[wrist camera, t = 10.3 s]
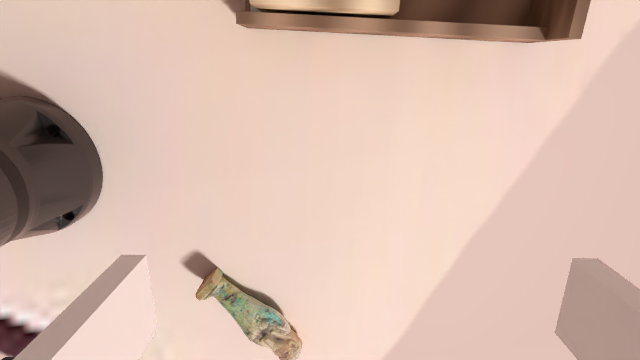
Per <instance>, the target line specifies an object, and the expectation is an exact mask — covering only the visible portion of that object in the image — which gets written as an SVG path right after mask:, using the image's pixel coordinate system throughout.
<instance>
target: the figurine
mask: <svg viewBox="0 0 640 360" xmlns="http://www.w3.org/2000/svg"><path fill="white" fill-rule="evenodd" d="M222 275H223V272H222V271H221V270H220V269H219V268H216V269H215V270H213V271H212V272H211V273H210V274H209V275H208V276H207V277H206V278H205V279H204V280H203V282H202V284H201V285H200V287H199V289H198V291H197V293H196V298H197V299H198V300H203V299H207V298H209V297H211V296H214V297H215V298H216V299H217V300H218V301H219V302H220V303H221V304H222V306H223V307H224V308H225V309H226V310H227V311H228V312H229V313H230V314H231V315H232V317H233V318H234V319H235V320H236V322H237V323H238V324H239V326H240V327H241V329H242V330H243V332H244V334H245V335H246V336H247V337H248V338H249V340H250V341H253V342H254V343H256V344H258V345H260V346H263V347H267V348H270V349H272V350H273V352H274V354H275V355H276V356H278V357H279V359H280V360H296V359H297V358H298V356H299V354H300V352H301V348H302V341H301V339H300V338H299V337H298V335H297V334H296V333H295V332H294V331H293V330H292V329H291V328H290V325H289V324H288V322H287V320H286V319H285V318H284V317H283V316H282V315H281V314H280V313H279V312H278V311H277V310H276V309H274V308H272V307H270V306H267V305H265V304H263V303H262V302H260V301H258V300H257V299H255V298H253V297H251V296H249V295H247V294H246V293H244V292H243V291H241V290H240V289H238V288H237V287H236V286H235V285H233V284H231V283H230V282H229V281H228V280H226V279H225V278H224V277H223V276H222Z"/></svg>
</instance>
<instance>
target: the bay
mask: <svg viewBox="0 0 640 360" xmlns="http://www.w3.org/2000/svg"><path fill="white" fill-rule="evenodd" d="M590 1H591V0H400V6H399V11H398V12H397V13H395V14H394V16H391V17H389V18H388V19H382V18H363V17H344V16H325V15H306V14H288V13H269V12H261V11H260V10H258V9H256V8H255V7H254V6H253V5H251V4H250V3H249V0H246V12H245V11H236V24H239V25H241V26H244V27H246V28H258V29H277V30H296V31H315V32H333V33H352V34H371V35H390V36H409V37H428V38H446V39H465V40H484V41H503V42H522V43H533V42H546V41H558V40H570V39H581V37H582V33H583V29H584V25H585V21H586V17H587V13H588V9H589V5H590Z"/></svg>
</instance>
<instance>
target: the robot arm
mask: <svg viewBox="0 0 640 360" xmlns="http://www.w3.org/2000/svg"><path fill="white" fill-rule="evenodd" d="M102 180H103V173H102V166H101V161H100V158H99V155H98V152H97V150H96V148H95V146H94V144H93V142H92V140H91V139H90V137H89V136H88V134H87V133H86V132H85V130H84V129H83V128H82V127H81V126H80V125H79V124H78V123H77V122H76V121H75V120H74V119H73V118H72V117H71V116H69V115H68V114H67V113H65V112H64V111H62V110H61V109H59V108H57V107H56V106H54V105H52V104H49V103H47V102H44V101H41V100H38V99H34V98H29V97H6V98H0V247H1V246H3V245H4V244H6V243H8V242H10V241H13V240H18V239H23V238H28V237H33V236H38V235H43V234H48V233H53V232H56V231H59V230H62V229H64V228H66V227H68V226H70V225H71V224H73V223H75V222H76V221H78V220H79V219H81V218H82V217H84V216H85V215H86V214H87V213H88V212H89V211H90V210H91V209H92V208H93V207H94V205H95V204H96V202H97V200H98V198H99V195H100V192H101V188H102ZM157 329H158V325H157V319H156V313H155V307H154V301H153V294H152V288H151V282H150V276H149V270H148V264H147V257H146V255H121V256H120V257H119V258H118V259H117V260H116V261H115V262H114V263H113V264H112V265H111V266H110V267H109V268H108V269H106V270H105V271H104V272H103V273H102V274H101V275H100V276H99V277H98V278H97V279H96V280H95V281H94V282H93V283H92V284H91V285H90V286H89V287H88V288H87V289H86V290H85V291H84V292H83V293H82V294H81V295H80V296H79V297H77V298H76V299H75V300H74V301H73V302H72V303H71V304H70V305H69V306H68V307H67V308H66V309H65V310H64V311H63V312H62V313H61V314H60V315H59V316H58V317H57V318H56V319H55V320H54V321H53V322H52V323H51V324H50V325H48V326H47V327H46V328H45V329H44V330H43V331H42V332H41V333H40V334H39V335H38V336H37V337H36V338H35V339H34V340H33V341H32V342H31V343H30V344H29V345H28V346H27V347H26V348H25V349H24V350H23V351H22V352H21V353H19V354H18V355H17V356H16V357H5V358H3V359H2V360H139V359H140V357H141V355H142V354H143V352H144V350H145V349H146V347H147V346H148V344H149V342H150V341H151V339H152V338H153V336H154V334H155V333H156V331H157ZM555 333H556V335H557V336H558V337H559V338H560V339H561V340H562V342H563V343H564V344H565V345H566V346H567V347H568V349H569V350H570V351H571V352H572V353H573V355H574V356H575V357H576V358H577V359H578V360H640V289H639V288H637V287H636V286H634V285H633V284H632V283H630V282H629V281H628V280H626V279H625V278H624V277H622V276H621V275H620V274H618V273H617V272H616V271H614V270H613V269H611V268H610V267H609V266H607V265H606V264H604V263H603V262H602V261H601V260H599V259H584V258H582V259H581V258H573V260H572V263H571V268H570V272H569V276H568V280H567V284H566V289H565V292H564V297H563V301H562V305H561V309H560V314H559V318H558V321H557V326H556V330H555Z"/></svg>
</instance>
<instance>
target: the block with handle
mask: <svg viewBox="0 0 640 360" xmlns="http://www.w3.org/2000/svg"><path fill="white" fill-rule="evenodd" d="M249 3H250V4H251V5H253V6H254V7H255V8H256V9H258V10H260V11H261V12H269V13H288V14H306V15H325V16H344V17H363V18H382V19H388V18H389V17H391V16H394V14H395V13H397V12H398V11H399V6H400V0H249Z"/></svg>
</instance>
